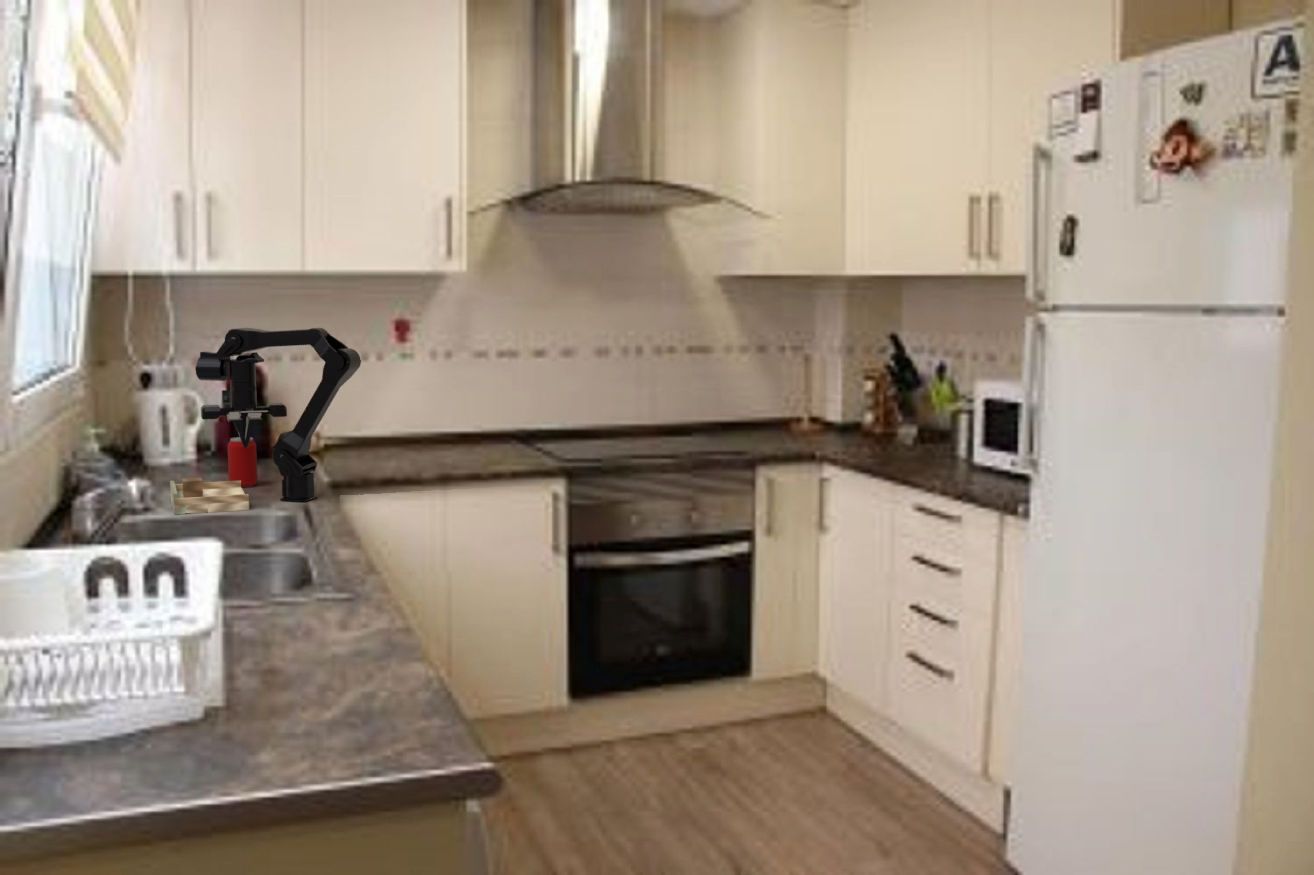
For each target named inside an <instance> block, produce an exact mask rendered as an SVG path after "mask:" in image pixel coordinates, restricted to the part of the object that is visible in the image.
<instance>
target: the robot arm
mask: <svg viewBox="0 0 1314 875" xmlns="http://www.w3.org/2000/svg"><path fill="white" fill-rule="evenodd" d="M291 346H310V347H312V348H313V349H314V351H315V352H316V354H317V355H318V357H319V358H320V359H321V360H322V361H324V365H323V368H322V373H321V374H322V376H321V381H320V383H319V384H318V385H317V388H316V389H315V391H314V393H313V395H312V396H311V398H310V400H309V402H308V403H307V405H306V407H305V409H304V410H303V412H302V414H301V416H300V417H299V419H298V421H297V422H296V424H295V426H294V428H293V429H291V430H289V431H286V432H282V433H280V434H279V436H278V439H277V441H276V443H275V444H274V445H273V446H272V447H271V449H273V450H272V454H271V457H272V459H273V462H274V464H275V466H277V468H278V471H279V473H280V476H281V477H282V478H283V479H281V496H282V497H280V499H279V500H280V501H285V502H288V501H289V502H301V501H302V502H301V503H303V501H306V500H308V501H310V500H309V499H311V498H313V497H316V496H318V494H315V475H314V474H315V473H314V472H315V471H316V470H317V466H318V462H317V461H316V460H315V459H314V458H313V457H312V456H311V455H310V453H309V452H310V450H311V446H312V437H313V435H314V433H315V431H316V430H317V428H318V426H319V425H320V423H321V421H322V419H323V418H324V416H325V414H326V413H327V411H328V409H329V407H330V406H331V403H332V402H333V400H334V398H336V395H337V393H338V392H339V390H340V388H341V387H342V386H343V385H344V384H346V382H348V380H350V379H351V378H352V377H353V375H354V374H355V373H356V372H357V371H358V369H359V368H360V367H361V364H362V360H361V356H360V354H359V353H358V351H356V350H355V349H353V348H350V347H348V346H347V345H346V344H345V343H344V342H342V341H340V340H339V339H337V338H336V337H334V336H333V335H332V334H330V332H328V331H327V330H326V329H325V328H323V327H312V328H311V327H310V328H307V329H305V328H304V329H291V330H290V329H288V330H265V329H260V328H252V327H239V328H231V329H229V330H228V331H227V332H226V334H225V336H224V341H223V343H222V344H221V346H220V347H219V349H218V350H217V352H214V351H213V352H212V351H201V352H200V353H199V357H198V359H197V361H196V365H195V374H196V377H197V378H198V380H199V381H209V382H210V381H215V382H225V381H227V380H228V378H229V384H230V385H229V388H230V389H225V390H224V389H222V390H221V404H222V405H229V407H221V406H220V405H219V404H203V405H201V407H200V417H201V419H202V420H217V419H219V417H221V416H222V417H223V416H226V420H227V421H228V423H233V425H234V427H235V429H236V431H237V433H238V437H240V439H241V442H242V445H243V447H244V448H245V447H247V446H248V443H249V440H250V437H252V434H253V431H254V429H255V427H256V425H257V424H258V422H262V421H263V420H262V419H263V418H261V416H262V415H271V416H272V417H273V418H285V417H287V416H288V412H287V411H288V410H287V409H288V408H287V406H286V405H285V404H283V403H282V402H271V403H270V402H269V403H268V402H267V403H266V406H257V405H258V404H257V379H256V378H257V376H256V375H257V374H256V373H257V372H256V370H257V369H256V364H259V363H264V362H265V359H264V358H263V357H262V356H260V355H259V353H258V352H257V351H259V350H263V349H266V348H269V347H271V348H273V347H275V348H276V347H291ZM255 351H256V352H255ZM251 352H252V353H251ZM244 353H250V354H249V355H246V354H244ZM242 354H244V355H242ZM231 357H236V358H233V359H232V358H231ZM241 416H246V418H245V420H246V421H245V424H246V425H245V429H244V424H243V419H242V418H241ZM316 498H317V497H316ZM311 500H312V499H311ZM306 502H307V501H306Z"/></svg>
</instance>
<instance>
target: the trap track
mask: <svg viewBox="0 0 1314 875" xmlns="http://www.w3.org/2000/svg"><path fill="white" fill-rule="evenodd" d="M169 482H170V484H169V485H170V502H171V505H172V509H173V514H174V515H175V514H180V515H186V514H185V513H194V514H207V513H206V512H208V513H209V514H210V513H221V512H234V511H235V512H236V511H249V510H250V494H249V493H245V492H244V490H243V487H241V480H240V481H229V480H227V481H226V480H225V481H209V482H202V486H203V497H191V498H184V497H183V483H175V480H170V481H169Z"/></svg>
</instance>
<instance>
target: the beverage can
mask: <svg viewBox="0 0 1314 875" xmlns="http://www.w3.org/2000/svg"><path fill="white" fill-rule="evenodd" d="M257 455H258V454H257V443H256V442H255V440H254V437H252V436H251V437H250V440H249V443H248V446H247V447H245V448H244V447H243V445H242V442H241V439H240V437H239V436H238V437H230V440H229V441H228V444H227V466H228V467H227V468H228V470H227V471H228V481H240V480H241V488H251V487H253V486H255V485H256V484H257V483H258V458H257V457H258V456H257Z"/></svg>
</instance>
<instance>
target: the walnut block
mask: <svg viewBox="0 0 1314 875" xmlns="http://www.w3.org/2000/svg"><path fill="white" fill-rule="evenodd" d="M181 480H182V481H181V482H182V484H183V497H184V498H191V497H203V486H202V483H203V479H202V477H189V478H188V477H187V478H182V479H181Z"/></svg>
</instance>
